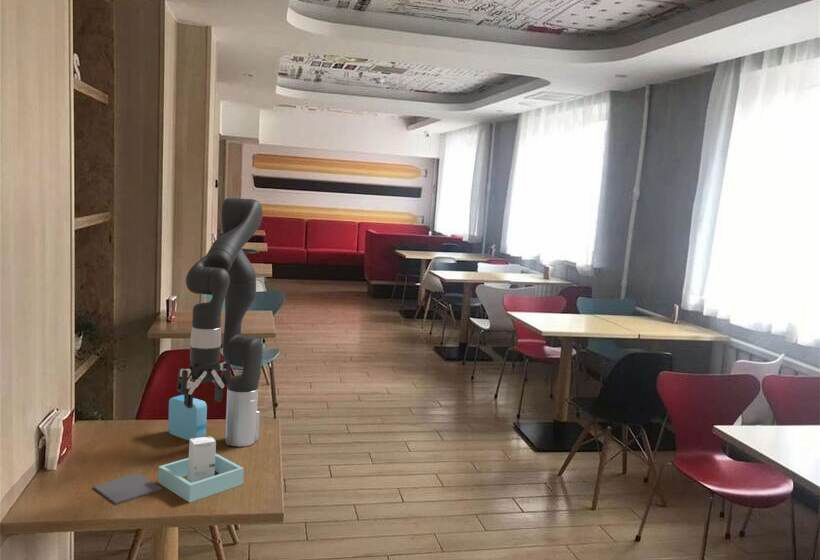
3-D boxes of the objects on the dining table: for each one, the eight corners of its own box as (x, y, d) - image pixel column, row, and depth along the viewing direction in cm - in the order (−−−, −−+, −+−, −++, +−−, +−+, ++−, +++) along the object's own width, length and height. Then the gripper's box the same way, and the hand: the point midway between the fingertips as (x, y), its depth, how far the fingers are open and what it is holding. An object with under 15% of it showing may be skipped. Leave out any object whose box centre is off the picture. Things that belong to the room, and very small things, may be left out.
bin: (211, 466, 186) (211, 451, 186) (243, 484, 177) (243, 468, 176) (158, 482, 174) (158, 466, 174) (189, 502, 165) (190, 485, 164)
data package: (206, 438, 206) (207, 401, 204) (195, 443, 202) (196, 405, 201) (179, 429, 212) (180, 393, 210) (167, 433, 208) (168, 396, 206)
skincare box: (191, 489, 172) (193, 444, 170) (186, 482, 176) (188, 438, 174) (215, 484, 175) (216, 441, 174) (210, 478, 179) (211, 435, 177)
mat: (138, 474, 178) (138, 473, 178) (161, 490, 170) (161, 488, 170) (93, 487, 169) (93, 486, 169) (116, 504, 161) (116, 502, 161)
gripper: (221, 337, 178) (218, 395, 181) (172, 344, 168) (170, 405, 170) (237, 343, 174) (235, 402, 176) (189, 350, 163) (186, 413, 165)
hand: (203, 404), depth 173 cm, fingers open, 8 cm apart
